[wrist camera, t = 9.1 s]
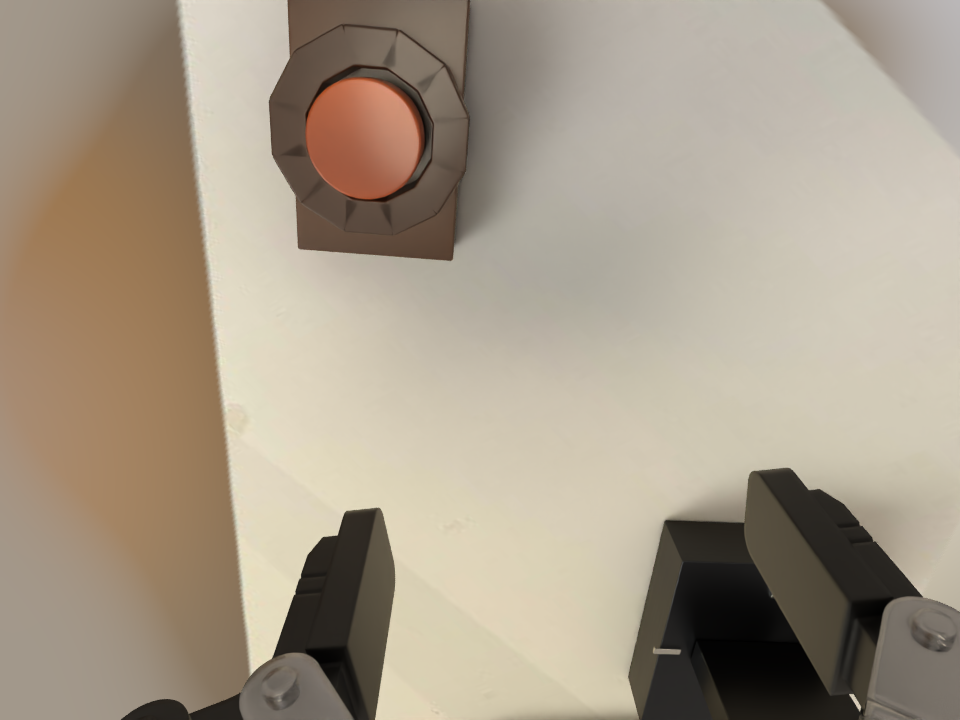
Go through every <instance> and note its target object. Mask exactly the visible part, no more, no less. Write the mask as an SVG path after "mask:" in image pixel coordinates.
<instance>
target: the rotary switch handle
mask: <svg viewBox="0 0 960 720" xmlns="http://www.w3.org/2000/svg"><path fill="white" fill-rule="evenodd" d="M691 664H692V666H693V669H694V672H695V674H696V677H697V680H698V682H699V685H700V688H701V690H702V693H703V695H704V698H705V701H706V703H707V706H708V709H709V711H710V714H711V717H712V719H713V720H859V715H860V711H859V710H858V708H857V707H856V705H855V703H854V702H853V700H852V698H851V697H850V695H849V694H845V695H833V696H830V694H829V693H828V691H827V689H826V687H825V686H824V684H823V682H822V680H821V679H820V677H819V675H818V673H817V672H816V670H815V668H814V666H813V665H812V663H811V661H810V659H809V658H808V656H807V654H806V652H805V651H804V649H803V647H802V645H801V644H791V643H761V642H732V641H703V640H697V642H696V645H695V648H694V651H693V655H692V658H691Z"/></svg>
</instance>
